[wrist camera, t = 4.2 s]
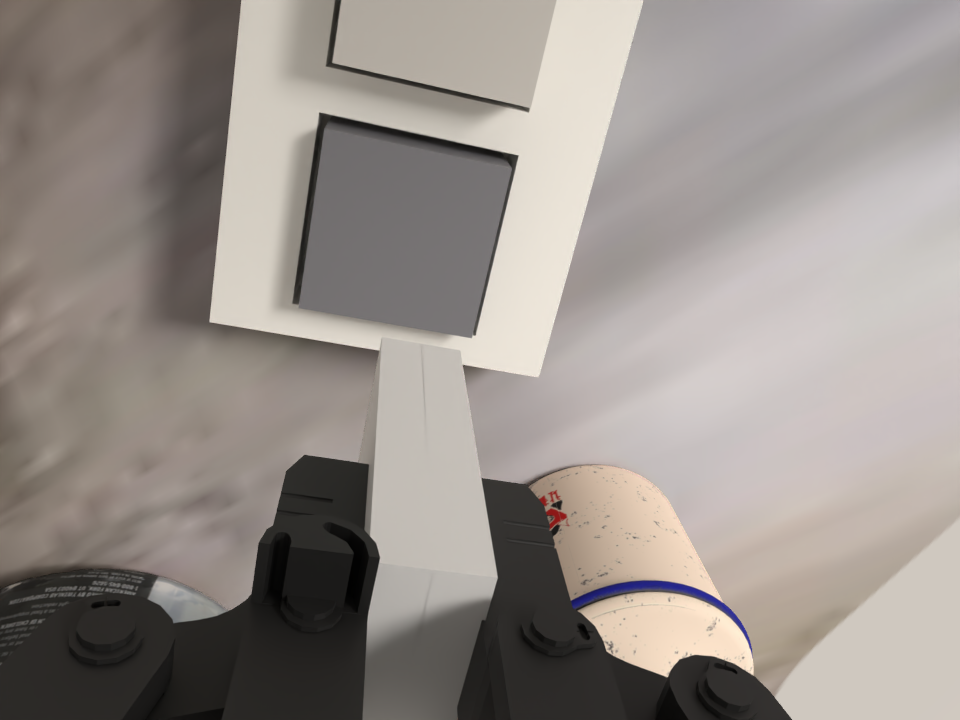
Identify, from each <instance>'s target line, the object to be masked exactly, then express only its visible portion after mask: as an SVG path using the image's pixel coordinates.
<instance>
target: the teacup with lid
mask: <svg viewBox="0 0 960 720" xmlns="http://www.w3.org/2000/svg"><path fill="white" fill-rule="evenodd" d="M529 488H530V489H531V491H532V492H533V493H534V494H535V495H536V496H537V497H538V499H539V500H540V501H541V502H542V503H543V504H544V507H545V510H546V514H547V517H548V521H549V524H550V530H551V532H552V535H553V539H554V542H555V547H554V548H556V549H557V553H558V557H559V560H560V564H561V567H562V571H563V575H564V578H565V582H566V585H567V589H568V592H569V596H570V600H571V603H572V607H573V609H575V610H577V611H578V612H580V613H582V614H583V615H584V616H585V617H586V618H587V619H588V620H589V621H590V622H591V623H592V624H593V625H594V626H595V627H596V629H597V631H598V632H599V634H600V636H601V638H602V640H603V641H604V645H605V648H606V651H607V652H608V653H610V654H611V655H613V656H615V657H617V658H619V659H621V660H623V661H626V662H628V663H630V664H633V665H635V666H638V667H641V668H644V669H646V670H649V671H652V672H655V673H657V674H660V675H663V676H666V677H668V675H669V673H670V671H671V669H672V668H673V667H674V665H675V664H676V663H677V662H678V661H679V659H682V658H686V657H689V656H692V655H704V656H714V657H717V658H720V659H723V660H725V661H728V662H731V663H734V664H736V665H737V666H739V667H740V668H742V669H744V670H745V671H747V672H748V673H750V674H752V675H753V656H752V648H751V644H750V640H749V637H748V635H747V632H746V630H745V628H744V627H743V625H742V623H741V621H740V620H739V619H738V617H737V616H736V615H735V614H734V613H733V612H732V610H731V609H730V608H729V607H727V606H726V605H725V604H724V603H723V601H722V600H721V598H720V596H719V594H718V592H717V590H716V588H715V587H714V585H713V583H712V581H711V579H710V577H709V575H708V573H707V572H706V570H705V568H704V566H703V564H702V562H701V560H700V559H699V557H698V555H697V553H696V551H695V549H694V547H693V545H692V544H691V542H690V540H689V538H688V536H687V534H686V532H685V531H684V529H683V527H682V525H681V523H680V521H679V519H678V517H677V516H676V514H675V512H674V510H673V508H672V506H671V505H670V503H669V501H668V500H667V498H666V497H665V495H664V494H663V493H662V492H661V491H660V490H659V489H658V488H657V487H656V486H655V485H654V484H653V483H651V482H650V481H648V480H647V479H645V478H644V477H642V476H640V475H638V474H636V473H633V472H631V471H629V470H625V469H622V468H618V467H613V466H606V465H584V466H577V467H572V468H567V469H564V470H561V471H558V472H555V473H552V474H550V475H548V476H546V477H544V478H542V479H540V480H538V481H537V482H535V483H533V484H532V485H530V486H529Z"/></svg>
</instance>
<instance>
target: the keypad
mask: <svg viewBox="0 0 960 720" xmlns="http://www.w3.org/2000/svg"><path fill="white" fill-rule="evenodd" d="M643 1H644V0H557V1H556V5H555V9H554V13H553V17H552V21H551V26H550V30H549V34H548V38H547V42H546V46H545V51H544V55H543V59H542V63H541V67H540V72H539V76H538V80H537V84H536V88H535V92H534V97H533V101H532V105H531V108H528V107H524V106H519V105H515V104H511V103H506V102H502V101H497V100H493V99H489V98H484V97H480V96H475V95H471V94H467V93H462V92H458V91H453V90H449V89H445V88H440V87H436V86H431V85H427V84H423V83H418V82H414V81H409V80H405V79H401V78H396V77H392V76H388V75H383V74H379V73H374V72H370V71H366V70H361V69H357V68H352V67H348V66H344V65H339V64H335V63H332V61H333V54H334V47H335V41H336V34H337V27H338V20H339V13H340V6H341V0H241V10H240V20H239V30H238V40H237V50H236V60H235V70H234V81H233V91H232V101H231V111H230V121H229V131H228V141H227V151H226V161H225V171H224V181H223V191H222V201H221V211H220V221H219V231H218V241H217V251H216V261H215V271H214V281H213V291H212V301H211V311H210V321H209V322H212V323H218V324H224V325H230V326H236V327H242V328H248V329H254V330H260V331H265V332H271V333H277V334H283V335H289V336H295V337H301V338H307V339H313V340H319V341H325V342H331V343H337V344H343V345H349V346H355V347H361V348H367V349H373V350H380V344H381V339H382V337H385V338H391V339H397V340H403V341H408V342H414V343H420V344H426V345H432V346H437V347H443V348H449V349H455V350H460V352H461V358H462V364H463V365H468V366H474V367H480V368H486V369H492V370H498V371H503V372H509V373H515V374H521V375H527V376H533V377H539V374H540V371H541V367H542V364H543V360H544V356H545V353H546V349H547V346H548V342H549V339H550V335H551V331H552V328H553V324H554V321H555V317H556V313H557V310H558V306H559V303H560V299H561V295H562V292H563V288H564V285H565V281H566V277H567V274H568V270H569V267H570V263H571V259H572V256H573V252H574V249H575V245H576V241H577V238H578V234H579V231H580V227H581V224H582V220H583V216H584V213H585V209H586V206H587V202H588V198H589V195H590V191H591V188H592V184H593V180H594V177H595V173H596V170H597V166H598V162H599V159H600V155H601V152H602V148H603V144H604V141H605V137H606V134H607V130H608V127H609V123H610V119H611V116H612V112H613V109H614V105H615V101H616V98H617V94H618V91H619V87H620V83H621V80H622V76H623V73H624V69H625V65H626V62H627V58H628V55H629V51H630V47H631V44H632V40H633V37H634V33H635V29H636V26H637V22H638V19H639V15H640V12H641V8H642V4H643ZM331 116H335V117H340V118H344V119H349V120H354V121H358V122H363V123H368V124H372V125H377V126H381V127H386V128H391V129H395V130H400V131H405V132H409V133H414V134H418V135H423V136H428V137H432V138H437V139H442V140H446V141H451V142H455V143H460V144H465V145H469V146H474V147H478V148H483V149H488V150H492V151H497V152H501V153H502V154H503V156H504V157H505V159H506V160H507V162H508V163H509V165H510V166H511V168H512V171H511V175H510V180H509V184H508V188H507V192H506V196H505V201H504V205H503V209H502V213H501V217H500V222H499V226H498V230H497V234H496V239H495V243H494V247H493V251H492V255H491V260H490V264H489V268H488V272H487V276H486V281H485V285H484V289H483V293H482V297H481V302H480V306H479V310H478V314H477V318H476V323H475V327H474V331H473V335H472V338H467V337H461V336H455V335H450V334H444V333H438V332H433V331H427V330H421V329H415V328H410V327H404V326H398V325H392V324H387V323H381V322H375V321H369V320H364V319H358V318H352V317H346V316H341V315H335V314H329V313H323V312H318V311H312V310H306V309H300V308H299V301H300V294H301V287H302V280H303V273H304V266H305V259H306V252H307V245H308V239H309V232H310V225H311V218H312V211H313V204H314V197H315V190H316V183H317V176H318V169H319V163H320V156H321V149H322V142H323V135H324V128H325V127H326V125H327V123H328V122H329V120H330V118H331Z"/></svg>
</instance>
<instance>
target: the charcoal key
mask: <svg viewBox="0 0 960 720" xmlns="http://www.w3.org/2000/svg"><path fill="white" fill-rule="evenodd" d="M511 171H512V168H511V166H510V165H509V163H508V162H507V160H506V159H505V157H504V156H503V154H502V153H501V152H497V151H492V150H488V149H483V148H478V147H474V146H469V145H465V144H460V143H455V142H451V141H446V140H442V139H437V138H432V137H428V136H423V135H418V134H414V133H409V132H405V131H400V130H395V129H391V128H386V127H381V126H377V125H372V124H368V123H363V122H358V121H354V120H349V119H344V118H340V117H335V116H331V118H330V120H329V122H328V123H327V125H326V127H325V128H324V135H323V142H322V149H321V156H320V163H319V169H318V176H317V183H316V190H315V197H314V204H313V211H312V218H311V225H310V232H309V239H308V245H307V252H306V259H305V266H304V273H303V280H302V287H301V294H300V301H299V308H300V309H306V310H312V311H318V312H323V313H329V314H335V315H341V316H346V317H352V318H358V319H364V320H369V321H375V322H381V323H387V324H392V325H398V326H404V327H410V328H415V329H421V330H427V331H433V332H438V333H444V334H450V335H455V336H461V337H467V338H472V335H473V331H474V327H475V323H476V318H477V314H478V310H479V306H480V302H481V297H482V293H483V289H484V285H485V281H486V276H487V272H488V268H489V264H490V260H491V255H492V251H493V247H494V243H495V239H496V234H497V230H498V226H499V222H500V217H501V213H502V209H503V205H504V201H505V196H506V192H507V188H508V184H509V180H510V175H511Z"/></svg>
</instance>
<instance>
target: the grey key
mask: <svg viewBox="0 0 960 720" xmlns="http://www.w3.org/2000/svg"><path fill="white" fill-rule="evenodd" d="M556 1H557V0H341V6H340V13H339V20H338V27H337V34H336V41H335V47H334V54H333V61H332V63H335V64H339V65H344V66H348V67H352V68H357V69H361V70H366V71H370V72H374V73H379V74H383V75H388V76H392V77H396V78H401V79H405V80H409V81H414V82H418V83H423V84H427V85H431V86H436V87H440V88H445V89H449V90H453V91H458V92H462V93H467V94H471V95H475V96H480V97H484V98H489V99H493V100H497V101H502V102H506V103H511V104H515V105H519V106H524V107H528V108H531V105H532V101H533V97H534V92H535V88H536V84H537V80H538V76H539V72H540V67H541V63H542V59H543V55H544V51H545V46H546V42H547V38H548V34H549V30H550V26H551V21H552V17H553V13H554V9H555V5H556Z"/></svg>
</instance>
